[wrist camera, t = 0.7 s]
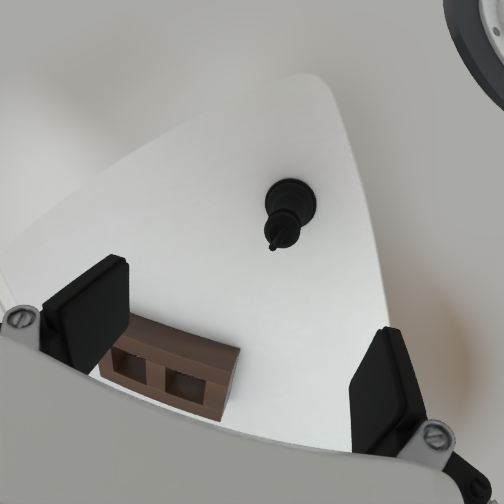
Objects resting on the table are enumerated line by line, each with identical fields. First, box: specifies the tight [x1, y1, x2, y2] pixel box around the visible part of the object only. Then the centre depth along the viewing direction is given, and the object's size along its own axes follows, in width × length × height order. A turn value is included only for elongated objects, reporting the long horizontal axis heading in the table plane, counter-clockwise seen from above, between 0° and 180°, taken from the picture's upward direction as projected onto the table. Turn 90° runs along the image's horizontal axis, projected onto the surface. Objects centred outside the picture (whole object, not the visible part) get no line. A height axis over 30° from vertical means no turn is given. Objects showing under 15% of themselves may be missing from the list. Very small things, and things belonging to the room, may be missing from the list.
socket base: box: [98, 313, 240, 422], centre depth 35 cm, size 10×17×4 cm, turn 79°
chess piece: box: [264, 179, 316, 251], centre depth 22 cm, size 4×4×10 cm
